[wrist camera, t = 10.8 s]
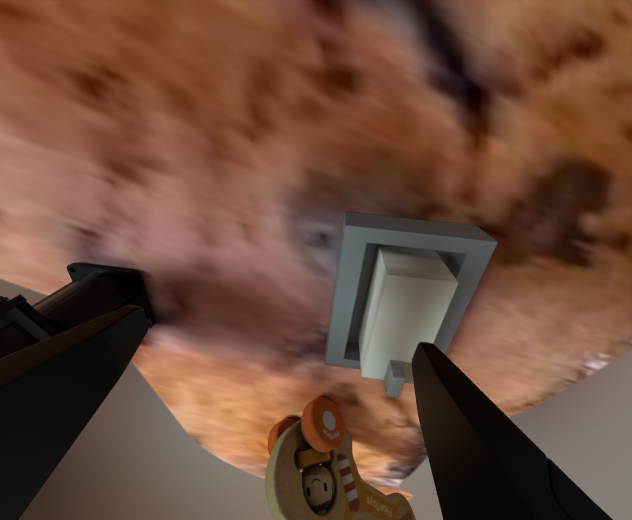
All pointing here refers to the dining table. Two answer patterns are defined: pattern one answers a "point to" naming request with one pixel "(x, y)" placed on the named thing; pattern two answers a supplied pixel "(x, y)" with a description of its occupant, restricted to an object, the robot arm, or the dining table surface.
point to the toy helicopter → (322, 472)
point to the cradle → (369, 230)
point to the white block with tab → (401, 311)
